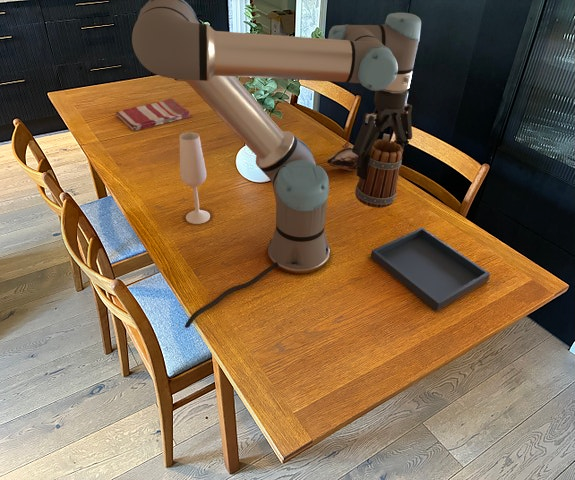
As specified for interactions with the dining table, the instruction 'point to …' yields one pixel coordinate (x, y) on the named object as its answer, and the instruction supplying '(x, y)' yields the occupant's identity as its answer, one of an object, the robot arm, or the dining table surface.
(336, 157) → the decorative duck model
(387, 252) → the tray
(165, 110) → the dish towel
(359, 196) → the mug
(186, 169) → the champagne flute
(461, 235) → the dining table surface
